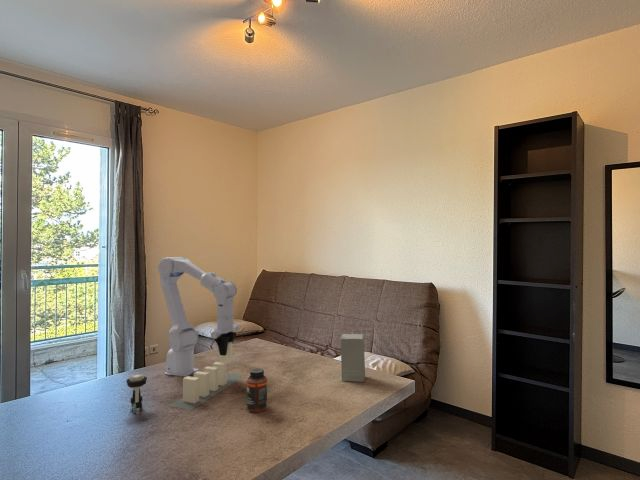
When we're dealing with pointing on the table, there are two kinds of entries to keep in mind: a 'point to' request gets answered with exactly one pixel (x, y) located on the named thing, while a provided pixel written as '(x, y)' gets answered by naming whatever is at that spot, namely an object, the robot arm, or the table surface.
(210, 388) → the domino
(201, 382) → the domino
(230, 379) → the mat
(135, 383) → the push button
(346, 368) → the skincare box
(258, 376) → the supplement bottle
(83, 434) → the table surface
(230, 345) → the domino
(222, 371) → the domino
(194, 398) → the domino
